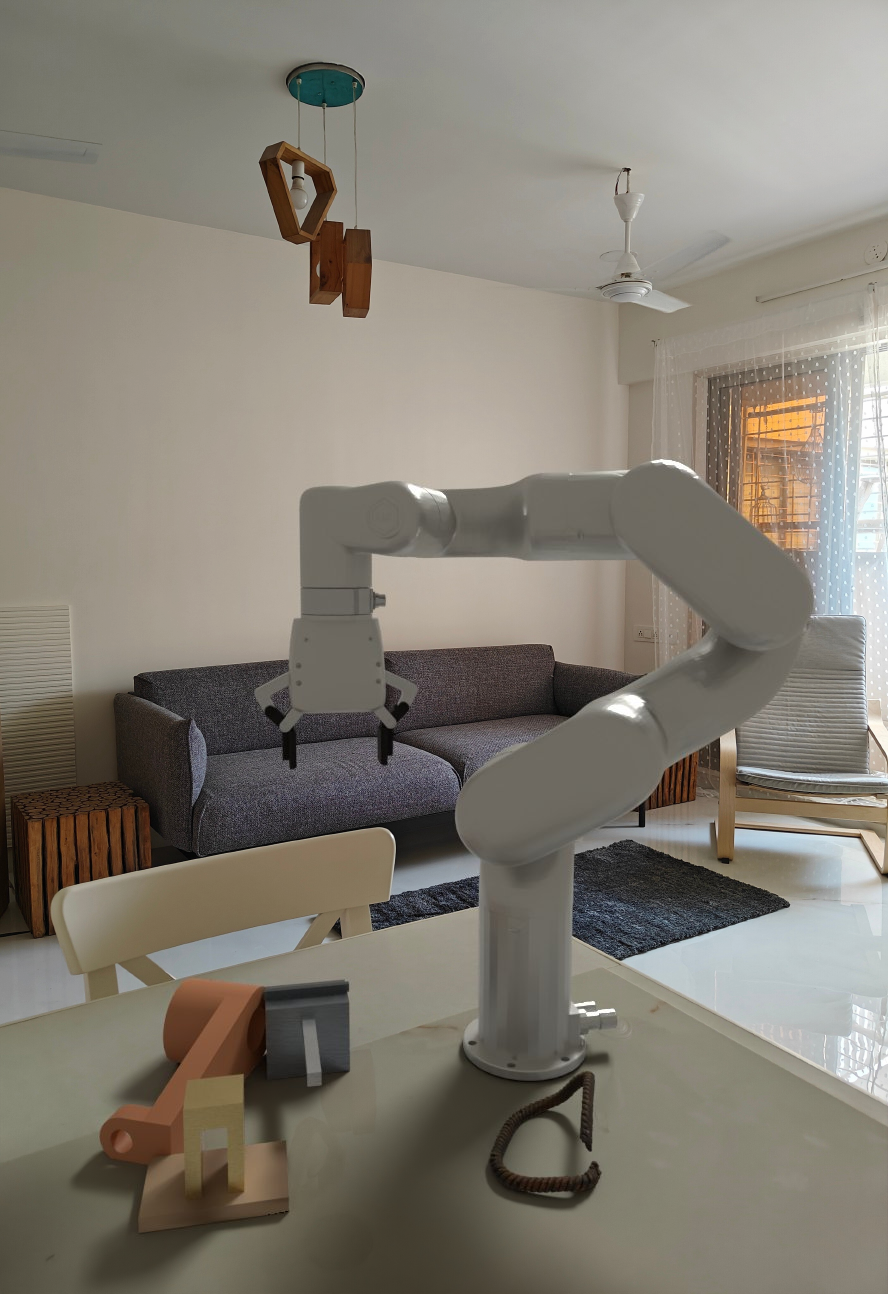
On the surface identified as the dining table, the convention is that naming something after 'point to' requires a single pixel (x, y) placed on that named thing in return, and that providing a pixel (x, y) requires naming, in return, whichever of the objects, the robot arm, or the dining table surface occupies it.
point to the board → (214, 1189)
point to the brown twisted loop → (501, 1143)
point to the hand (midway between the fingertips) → (338, 764)
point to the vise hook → (307, 1030)
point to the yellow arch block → (212, 1109)
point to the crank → (192, 1063)
